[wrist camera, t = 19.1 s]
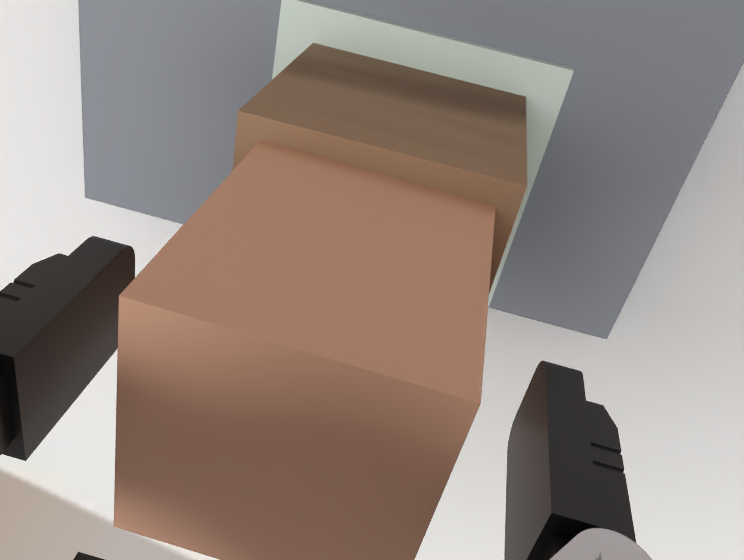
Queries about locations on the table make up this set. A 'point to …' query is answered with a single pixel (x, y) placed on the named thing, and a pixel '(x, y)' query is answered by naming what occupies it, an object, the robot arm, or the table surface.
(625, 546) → the robot arm
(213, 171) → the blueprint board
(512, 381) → the table surface
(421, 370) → the terracotta block
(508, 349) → the table surface
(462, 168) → the walnut block
